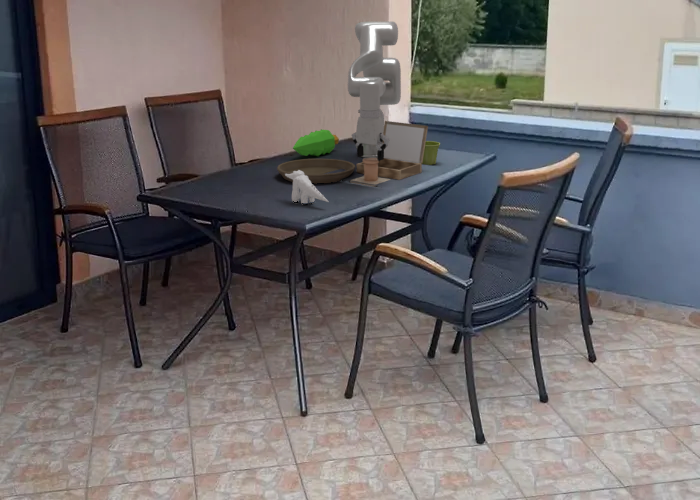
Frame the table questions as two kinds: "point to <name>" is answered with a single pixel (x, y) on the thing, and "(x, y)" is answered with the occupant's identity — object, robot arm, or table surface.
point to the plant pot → (430, 152)
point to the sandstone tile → (361, 179)
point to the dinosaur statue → (304, 188)
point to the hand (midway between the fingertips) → (370, 158)
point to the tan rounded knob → (370, 169)
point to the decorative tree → (316, 143)
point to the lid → (405, 141)
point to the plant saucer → (317, 169)
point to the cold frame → (394, 168)
